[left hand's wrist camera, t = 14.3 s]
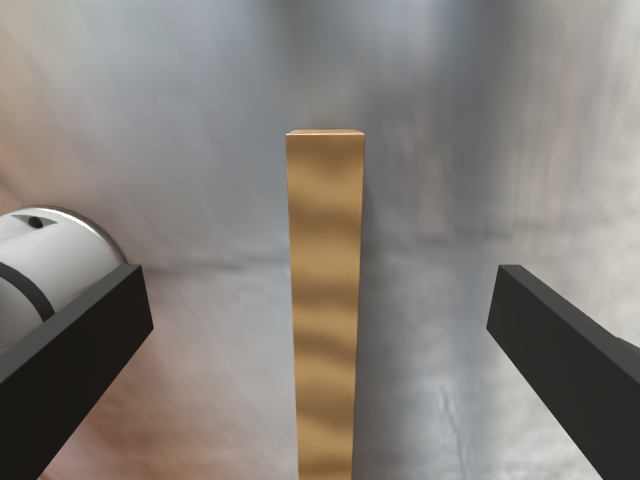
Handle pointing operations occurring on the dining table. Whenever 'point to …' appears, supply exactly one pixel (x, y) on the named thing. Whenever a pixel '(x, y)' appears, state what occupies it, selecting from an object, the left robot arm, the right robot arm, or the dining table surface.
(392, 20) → the dining table surface
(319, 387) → the post
